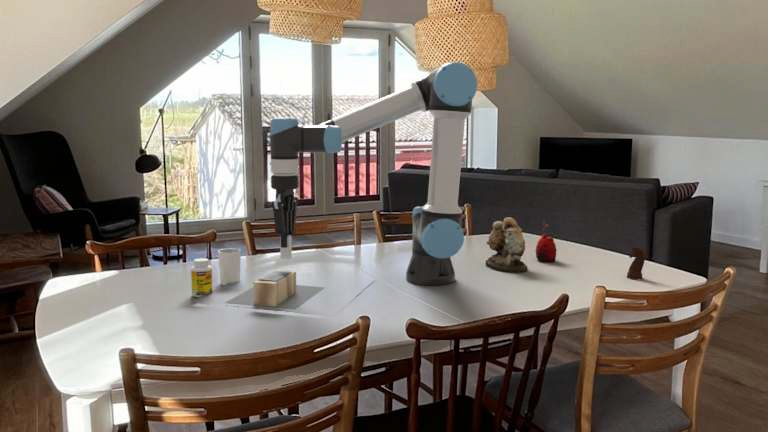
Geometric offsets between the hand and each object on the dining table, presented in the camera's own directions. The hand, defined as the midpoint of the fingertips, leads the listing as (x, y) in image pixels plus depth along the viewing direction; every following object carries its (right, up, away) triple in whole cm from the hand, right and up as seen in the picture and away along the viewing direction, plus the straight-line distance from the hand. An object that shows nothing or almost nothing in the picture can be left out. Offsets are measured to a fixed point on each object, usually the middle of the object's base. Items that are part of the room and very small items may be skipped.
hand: (286, 258), depth 178 cm
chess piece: (+107, -8, +23) cm, 110 cm away
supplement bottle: (-23, -11, 0) cm, 26 cm away
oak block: (0, -7, +1) cm, 7 cm away
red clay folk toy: (+85, -4, +47) cm, 97 cm away
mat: (-2, -11, -2) cm, 11 cm away
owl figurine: (+69, -6, +37) cm, 78 cm away
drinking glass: (-19, -9, +13) cm, 24 cm away
